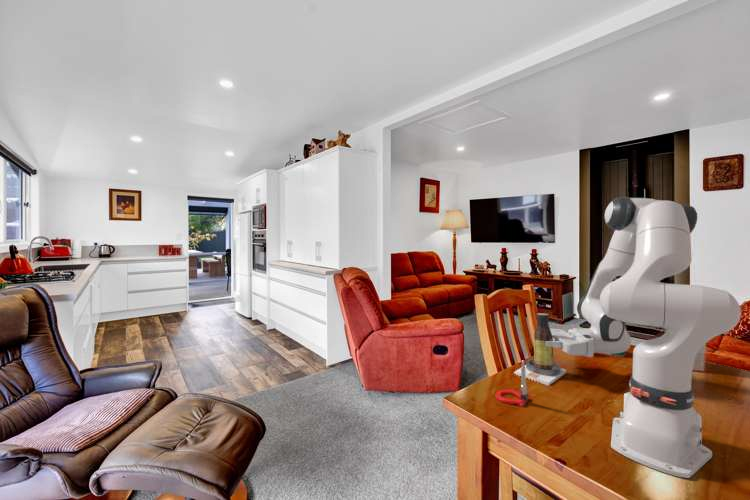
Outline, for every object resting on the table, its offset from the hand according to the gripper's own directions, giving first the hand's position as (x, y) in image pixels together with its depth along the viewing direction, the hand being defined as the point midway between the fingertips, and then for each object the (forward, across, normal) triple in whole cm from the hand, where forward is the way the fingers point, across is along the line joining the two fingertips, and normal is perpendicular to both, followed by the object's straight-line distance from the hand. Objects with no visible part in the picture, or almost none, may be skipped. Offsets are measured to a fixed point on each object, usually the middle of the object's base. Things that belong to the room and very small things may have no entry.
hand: (540, 340), depth 122 cm
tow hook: (+18, +21, +12) cm, 30 cm away
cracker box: (-60, -11, +13) cm, 62 cm away
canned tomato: (-40, -23, +12) cm, 48 cm away
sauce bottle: (-1, 0, +10) cm, 10 cm away
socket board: (+1, +2, +12) cm, 12 cm away
